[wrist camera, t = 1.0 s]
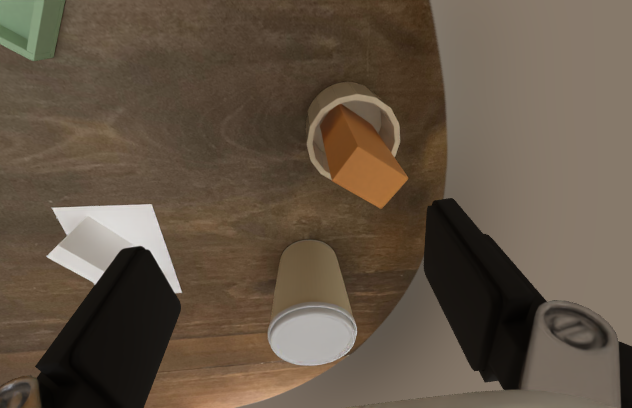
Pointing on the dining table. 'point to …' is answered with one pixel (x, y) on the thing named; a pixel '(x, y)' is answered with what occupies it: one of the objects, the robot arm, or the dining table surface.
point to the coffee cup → (310, 306)
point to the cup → (361, 104)
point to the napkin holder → (109, 238)
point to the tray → (31, 26)
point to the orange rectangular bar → (360, 157)
